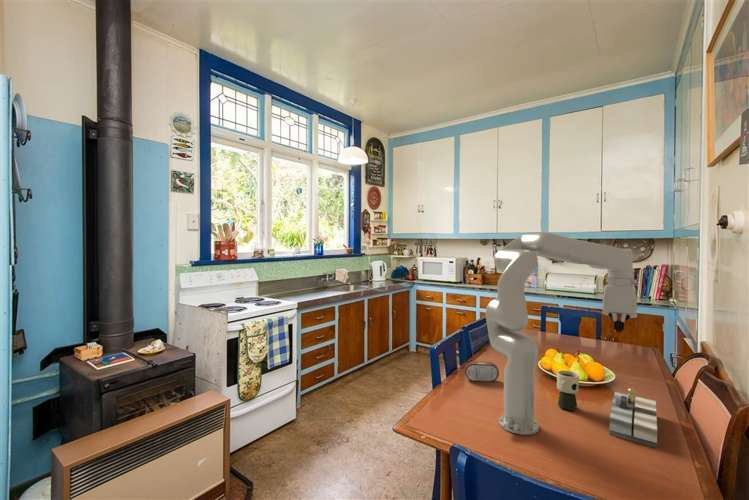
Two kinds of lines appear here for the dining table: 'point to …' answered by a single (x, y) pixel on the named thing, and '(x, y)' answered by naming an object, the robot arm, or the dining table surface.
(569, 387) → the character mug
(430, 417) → the dining table surface
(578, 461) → the dining table surface
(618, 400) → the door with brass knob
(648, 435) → the lock board
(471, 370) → the tin
